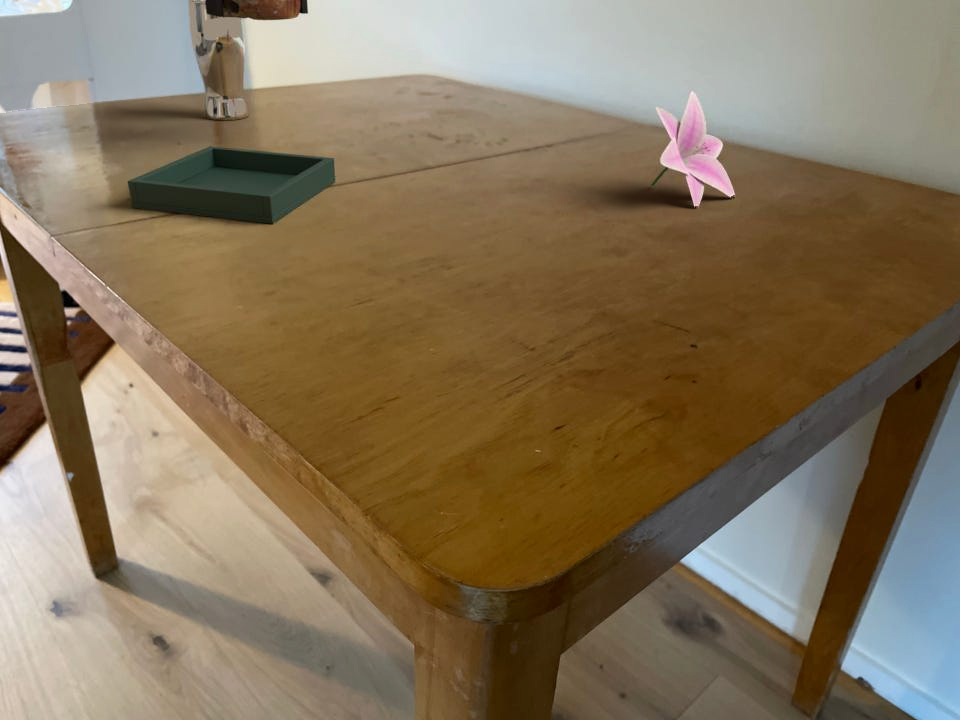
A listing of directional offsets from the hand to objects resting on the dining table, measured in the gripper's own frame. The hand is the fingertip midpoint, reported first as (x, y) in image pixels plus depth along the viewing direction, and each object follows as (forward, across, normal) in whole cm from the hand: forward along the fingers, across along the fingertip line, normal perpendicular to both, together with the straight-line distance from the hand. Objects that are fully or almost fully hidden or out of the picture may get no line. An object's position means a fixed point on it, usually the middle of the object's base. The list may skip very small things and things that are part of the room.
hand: (258, 13), depth 92 cm
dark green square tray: (+15, -13, -18) cm, 27 cm away
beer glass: (+15, +3, +17) cm, 23 cm away
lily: (+15, +24, -46) cm, 54 cm away
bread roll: (0, 0, 0) cm, 0 cm away
